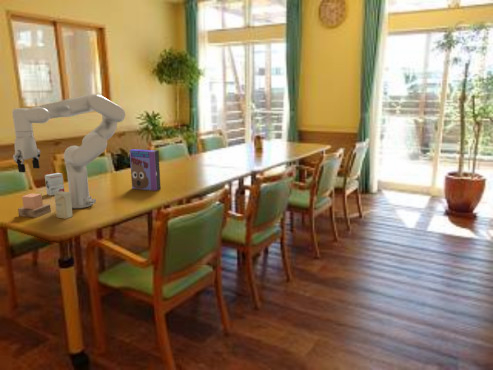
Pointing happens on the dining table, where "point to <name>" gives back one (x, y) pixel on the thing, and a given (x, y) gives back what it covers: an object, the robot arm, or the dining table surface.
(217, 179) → the dining table surface
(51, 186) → the ink box
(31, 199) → the terracotta cube
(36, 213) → the walnut block
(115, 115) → the robot arm
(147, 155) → the cereal box
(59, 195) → the skincare box
